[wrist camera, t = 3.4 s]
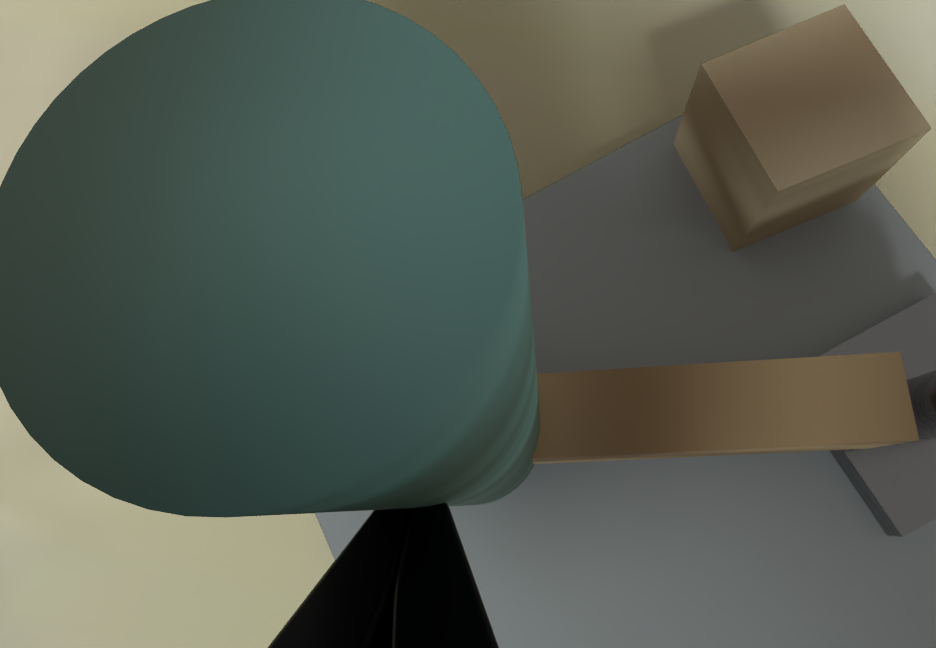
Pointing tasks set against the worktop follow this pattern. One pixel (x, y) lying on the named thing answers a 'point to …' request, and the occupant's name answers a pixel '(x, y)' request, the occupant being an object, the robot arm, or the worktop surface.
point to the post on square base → (932, 397)
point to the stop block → (794, 126)
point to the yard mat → (703, 477)
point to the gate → (329, 287)
